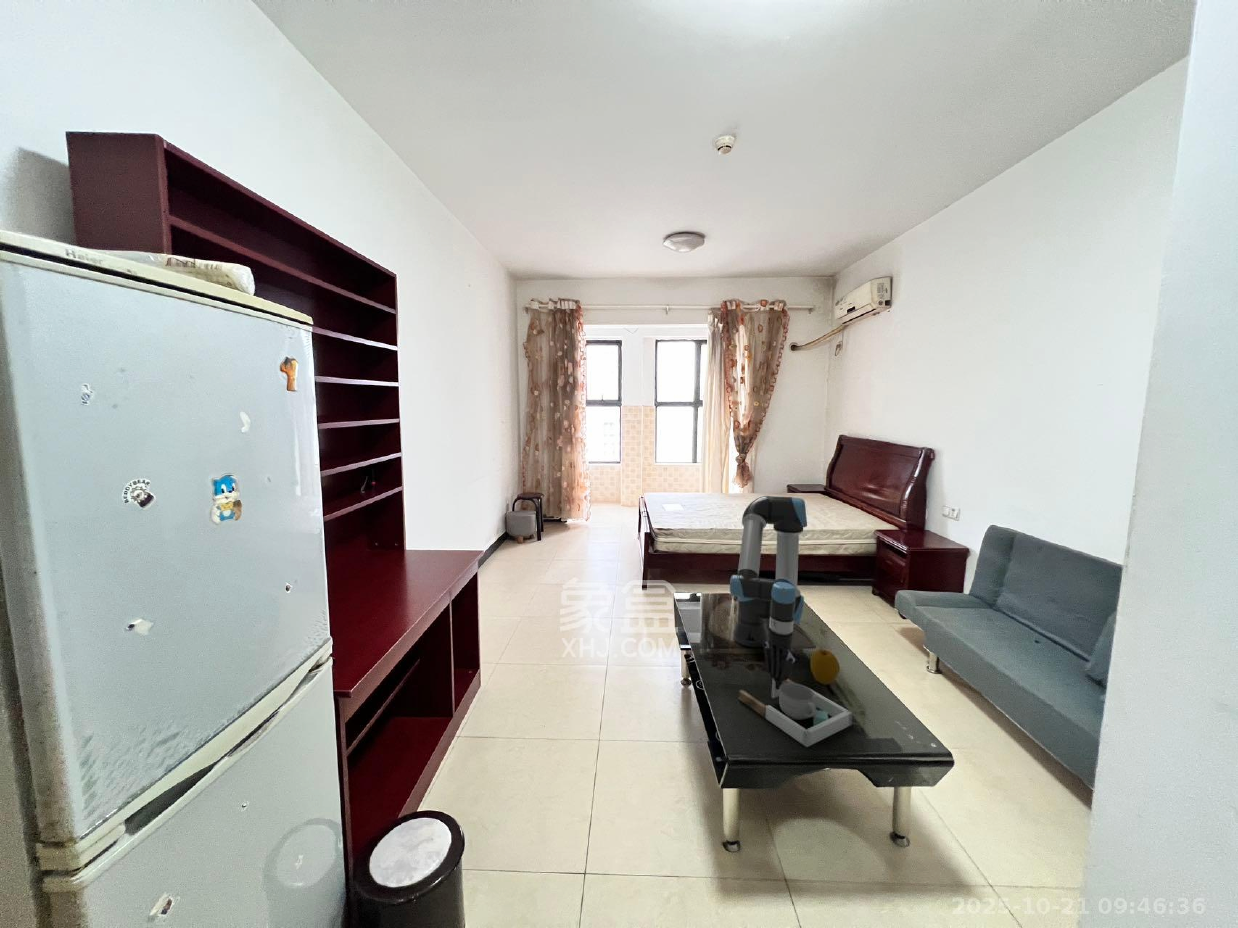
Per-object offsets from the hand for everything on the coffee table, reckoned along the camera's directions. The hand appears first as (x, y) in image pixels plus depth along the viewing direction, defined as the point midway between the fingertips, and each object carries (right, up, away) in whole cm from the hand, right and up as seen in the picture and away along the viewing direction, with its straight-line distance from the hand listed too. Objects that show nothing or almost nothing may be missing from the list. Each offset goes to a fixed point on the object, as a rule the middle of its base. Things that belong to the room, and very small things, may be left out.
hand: (775, 696), depth 157 cm
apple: (+22, -1, +13) cm, 26 cm away
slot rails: (0, -2, +1) cm, 2 cm away
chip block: (+10, -3, -13) cm, 16 cm away
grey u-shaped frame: (+7, -3, -10) cm, 13 cm away
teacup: (+5, -3, -8) cm, 10 cm away
